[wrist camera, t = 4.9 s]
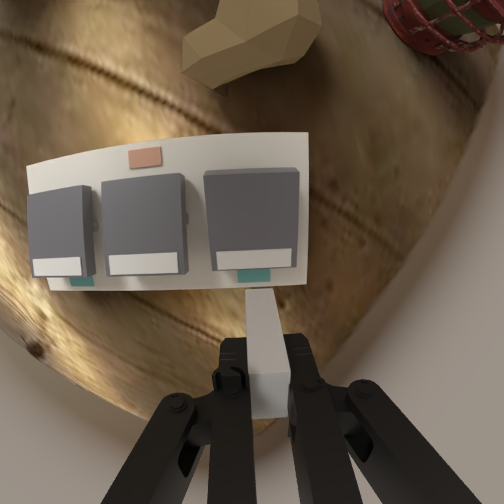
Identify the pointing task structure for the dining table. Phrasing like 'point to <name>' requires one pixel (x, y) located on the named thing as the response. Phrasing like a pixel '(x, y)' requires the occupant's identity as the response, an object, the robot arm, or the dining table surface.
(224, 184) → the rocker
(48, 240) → the rocker
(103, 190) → the rocker middle
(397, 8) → the lantern
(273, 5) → the low-poly potato
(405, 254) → the dining table surface
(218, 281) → the console
